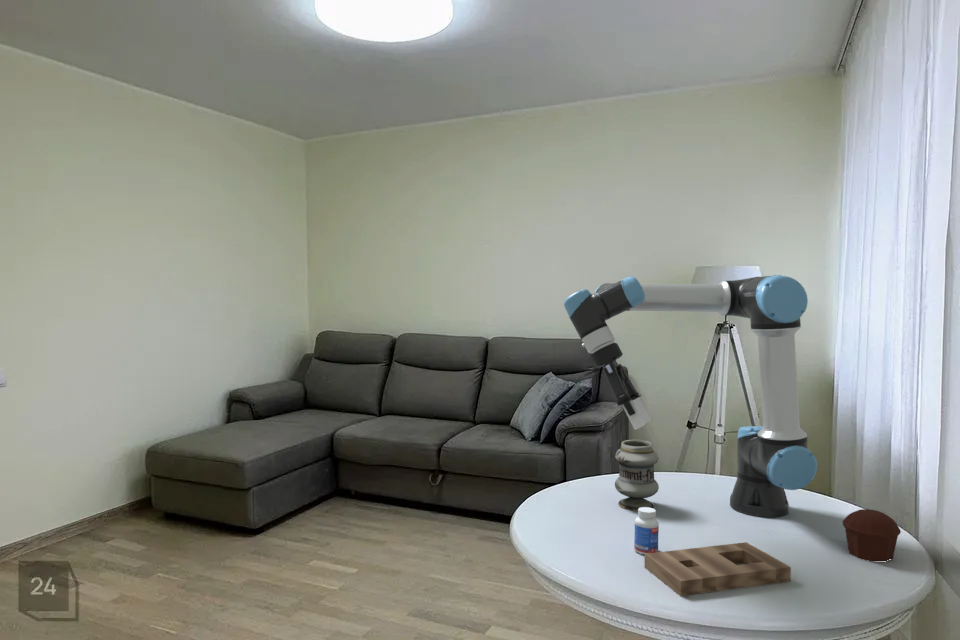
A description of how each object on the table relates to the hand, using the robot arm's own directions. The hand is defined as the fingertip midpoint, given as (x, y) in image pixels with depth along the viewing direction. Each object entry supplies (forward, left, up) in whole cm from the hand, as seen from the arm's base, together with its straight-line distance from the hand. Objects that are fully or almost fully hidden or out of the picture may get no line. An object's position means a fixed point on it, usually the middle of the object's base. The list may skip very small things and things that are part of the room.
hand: (643, 425), depth 158 cm
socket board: (-5, +23, -28) cm, 36 cm away
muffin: (-46, +23, -28) cm, 58 cm away
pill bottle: (+3, +8, -28) cm, 29 cm away
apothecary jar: (-11, -22, -28) cm, 37 cm away
